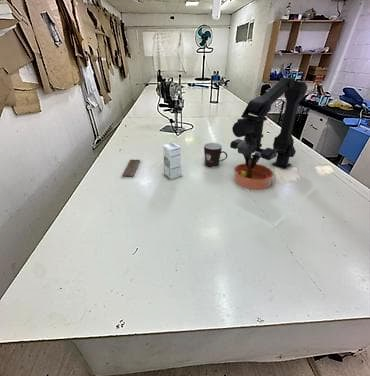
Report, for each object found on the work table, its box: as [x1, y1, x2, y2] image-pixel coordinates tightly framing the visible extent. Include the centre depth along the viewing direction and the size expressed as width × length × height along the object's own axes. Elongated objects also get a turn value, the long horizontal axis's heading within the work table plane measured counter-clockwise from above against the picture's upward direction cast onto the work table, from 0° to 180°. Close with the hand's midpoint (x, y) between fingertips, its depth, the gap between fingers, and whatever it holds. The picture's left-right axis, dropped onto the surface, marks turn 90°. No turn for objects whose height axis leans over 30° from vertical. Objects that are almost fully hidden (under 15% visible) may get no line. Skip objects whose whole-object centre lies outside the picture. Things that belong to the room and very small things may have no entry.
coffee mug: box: [203, 142, 228, 169], centre depth 113 cm, size 12×9×10 cm
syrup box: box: [162, 142, 182, 180], centre depth 103 cm, size 6×6×14 cm
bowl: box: [233, 162, 274, 191], centre depth 100 cm, size 16×16×5 cm
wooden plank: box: [122, 158, 141, 177], centre depth 111 cm, size 17×1×5 cm
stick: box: [247, 157, 253, 178], centre depth 100 cm, size 2×2×9 cm
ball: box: [240, 171, 247, 177], centre depth 103 cm, size 3×3×3 cm
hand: (250, 167), depth 100 cm, fingers closed on stick, 2 cm apart
